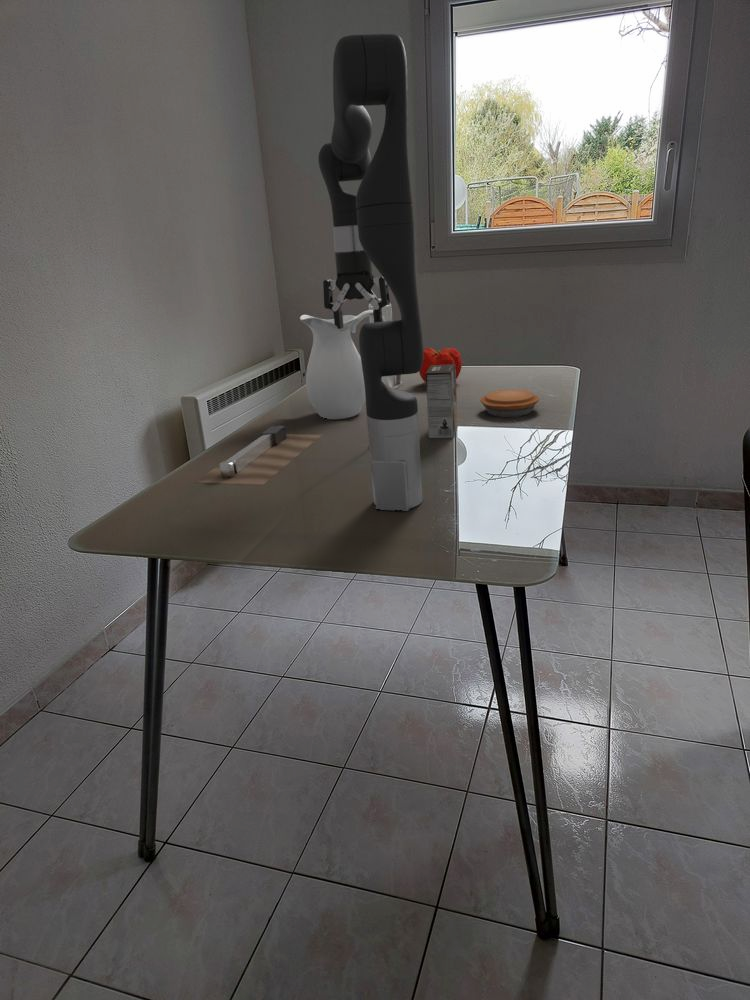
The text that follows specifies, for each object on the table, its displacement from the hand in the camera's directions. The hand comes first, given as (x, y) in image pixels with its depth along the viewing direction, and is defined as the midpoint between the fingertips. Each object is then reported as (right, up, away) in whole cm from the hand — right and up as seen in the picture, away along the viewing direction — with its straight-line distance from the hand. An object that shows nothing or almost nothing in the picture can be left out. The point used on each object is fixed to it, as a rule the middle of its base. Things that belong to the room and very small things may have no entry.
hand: (358, 327), depth 146 cm
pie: (+40, -14, +32) cm, 53 cm away
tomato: (+25, -1, +68) cm, 72 cm away
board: (-22, -29, +7) cm, 37 cm away
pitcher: (-3, -13, +43) cm, 45 cm away
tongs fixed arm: (-24, -28, +7) cm, 38 cm away
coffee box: (+20, -21, +19) cm, 35 cm away
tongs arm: (-23, -27, +9) cm, 36 cm away
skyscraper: (+7, -2, +69) cm, 69 cm away
